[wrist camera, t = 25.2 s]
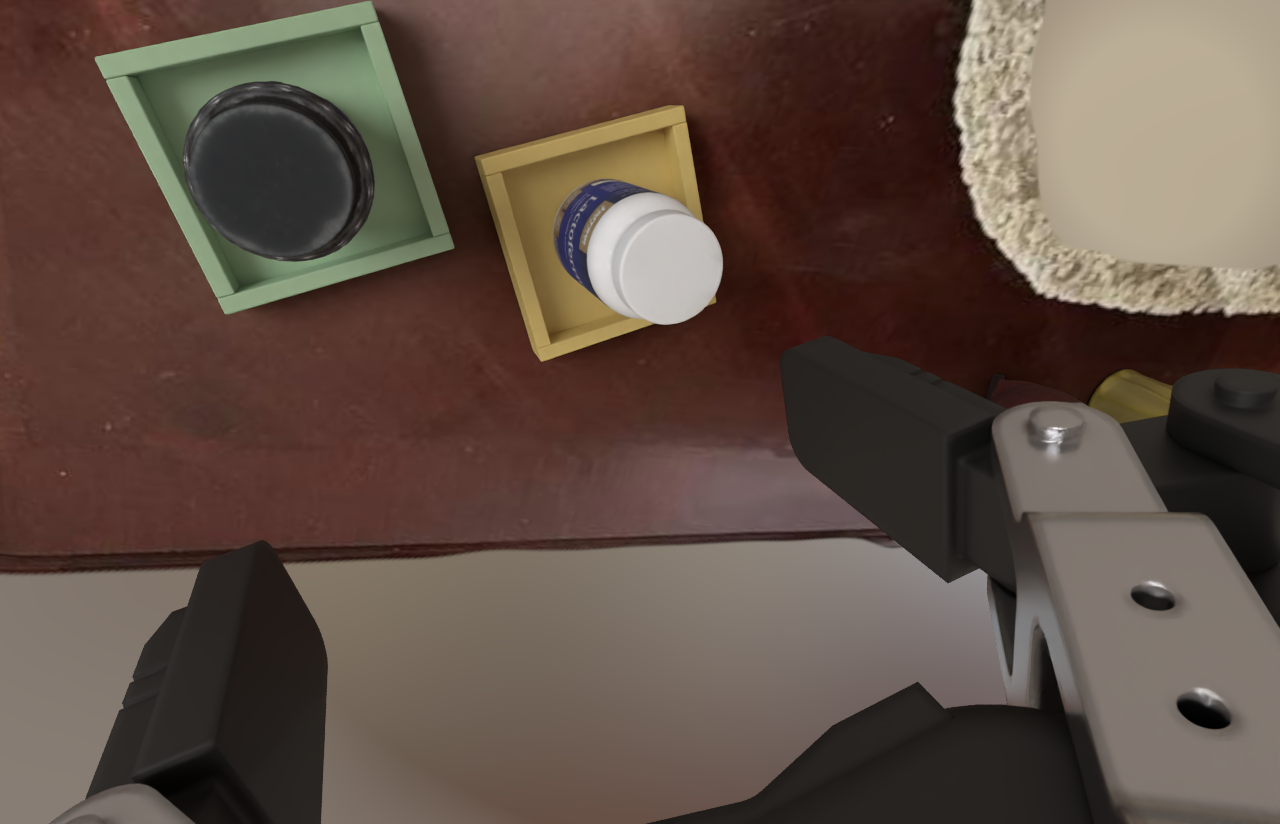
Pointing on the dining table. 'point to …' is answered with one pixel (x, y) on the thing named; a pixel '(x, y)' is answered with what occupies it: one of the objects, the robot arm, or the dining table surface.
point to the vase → (1131, 397)
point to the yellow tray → (536, 187)
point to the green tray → (318, 62)
